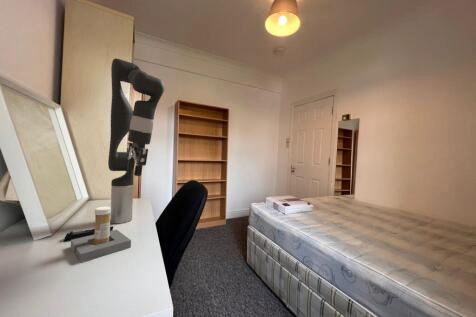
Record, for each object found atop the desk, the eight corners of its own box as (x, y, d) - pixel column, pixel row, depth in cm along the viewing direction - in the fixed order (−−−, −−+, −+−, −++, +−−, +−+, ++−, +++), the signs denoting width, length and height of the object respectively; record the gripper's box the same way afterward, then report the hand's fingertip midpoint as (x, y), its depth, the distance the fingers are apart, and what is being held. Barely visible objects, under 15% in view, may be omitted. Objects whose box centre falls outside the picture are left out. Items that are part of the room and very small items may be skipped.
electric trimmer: (113, 235, 80) (113, 227, 80) (62, 243, 71) (63, 234, 71) (113, 232, 83) (113, 224, 83) (64, 239, 74) (64, 231, 74)
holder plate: (70, 247, 67) (70, 240, 67) (116, 235, 78) (116, 229, 78) (80, 262, 58) (80, 254, 58) (130, 247, 69) (130, 240, 69)
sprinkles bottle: (92, 246, 68) (93, 207, 68) (107, 242, 72) (108, 205, 71) (96, 250, 65) (97, 210, 65) (111, 246, 69) (112, 207, 68)
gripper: (124, 126, 75) (117, 167, 76) (136, 130, 65) (128, 177, 66) (144, 130, 80) (138, 168, 82) (158, 134, 70) (150, 178, 72)
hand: (133, 172), depth 74 cm, fingers open, 8 cm apart
